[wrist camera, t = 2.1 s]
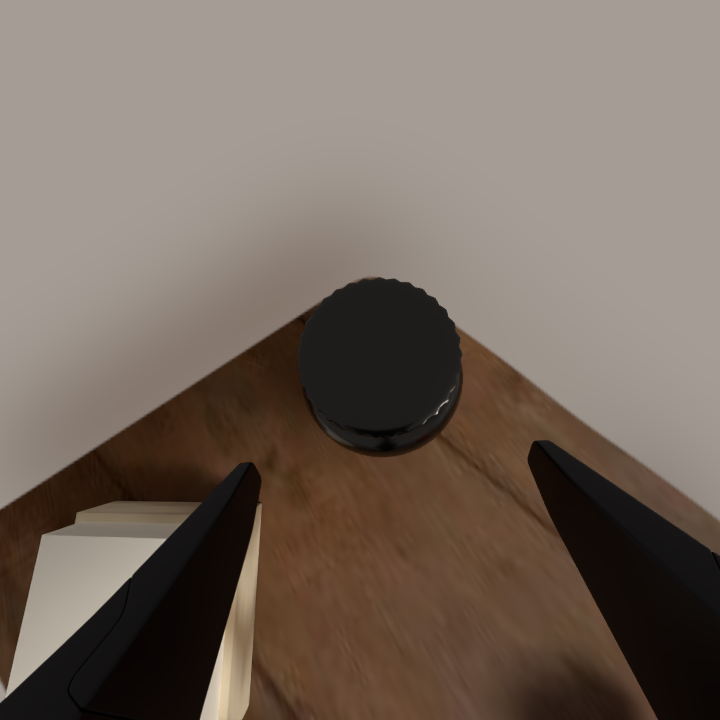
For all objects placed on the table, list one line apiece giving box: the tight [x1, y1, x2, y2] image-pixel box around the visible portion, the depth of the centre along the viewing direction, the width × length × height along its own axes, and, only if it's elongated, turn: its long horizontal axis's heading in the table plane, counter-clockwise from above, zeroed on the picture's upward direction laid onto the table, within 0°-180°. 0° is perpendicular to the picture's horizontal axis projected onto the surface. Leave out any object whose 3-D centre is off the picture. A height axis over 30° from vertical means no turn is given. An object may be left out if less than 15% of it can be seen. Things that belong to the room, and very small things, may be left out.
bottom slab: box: [75, 501, 262, 720], centre depth 16 cm, size 11×11×2 cm
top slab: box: [5, 522, 225, 720], centre depth 14 cm, size 10×10×2 cm
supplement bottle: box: [297, 277, 463, 457], centre depth 13 cm, size 7×7×12 cm
